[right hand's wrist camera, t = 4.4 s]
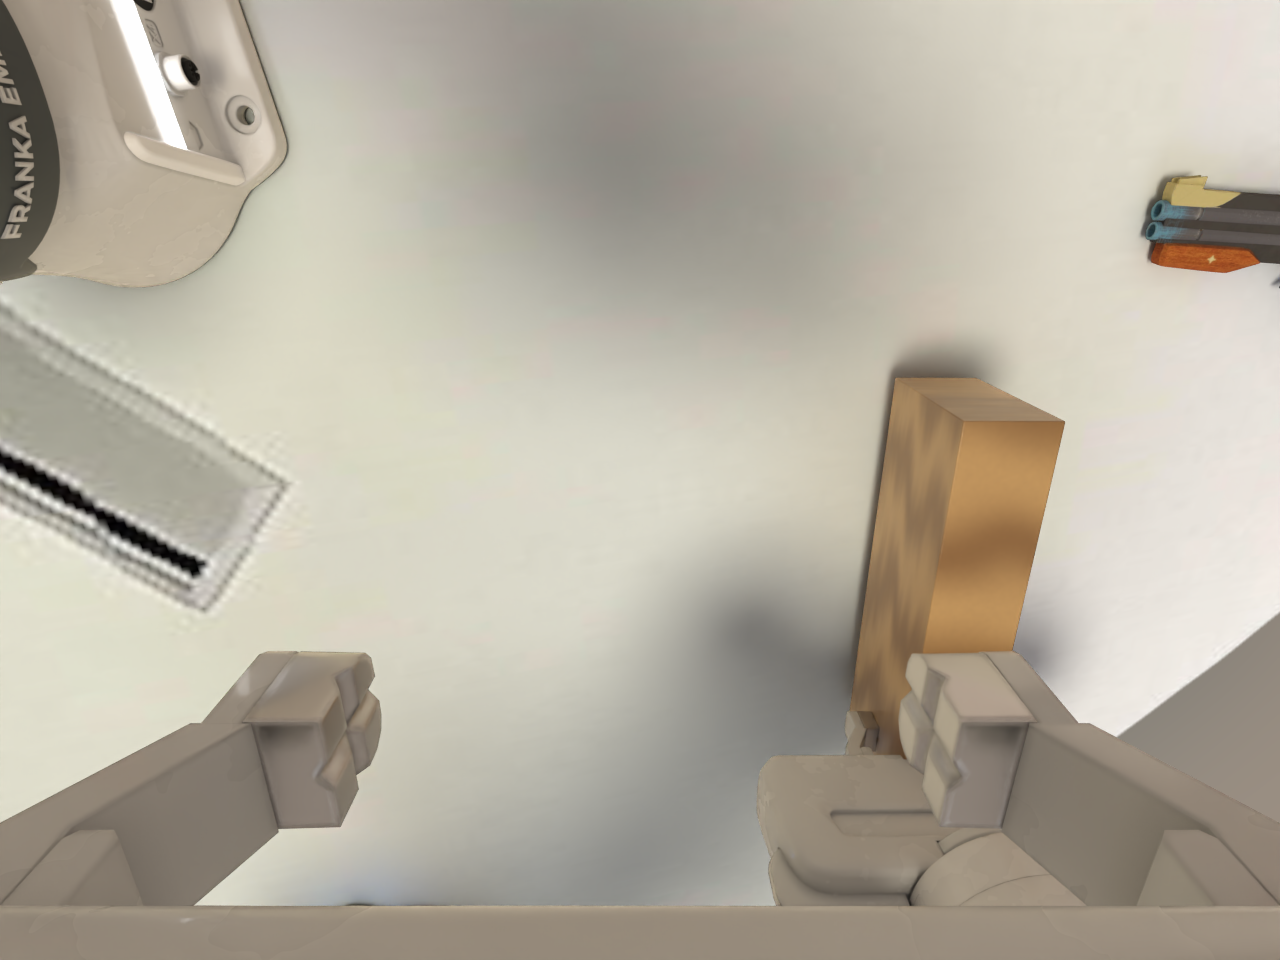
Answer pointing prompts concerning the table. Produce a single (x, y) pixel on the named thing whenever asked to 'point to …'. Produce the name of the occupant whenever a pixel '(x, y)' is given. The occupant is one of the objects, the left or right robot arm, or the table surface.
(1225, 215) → the toy gun
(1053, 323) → the table surface
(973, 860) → the left robot arm
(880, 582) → the bar
